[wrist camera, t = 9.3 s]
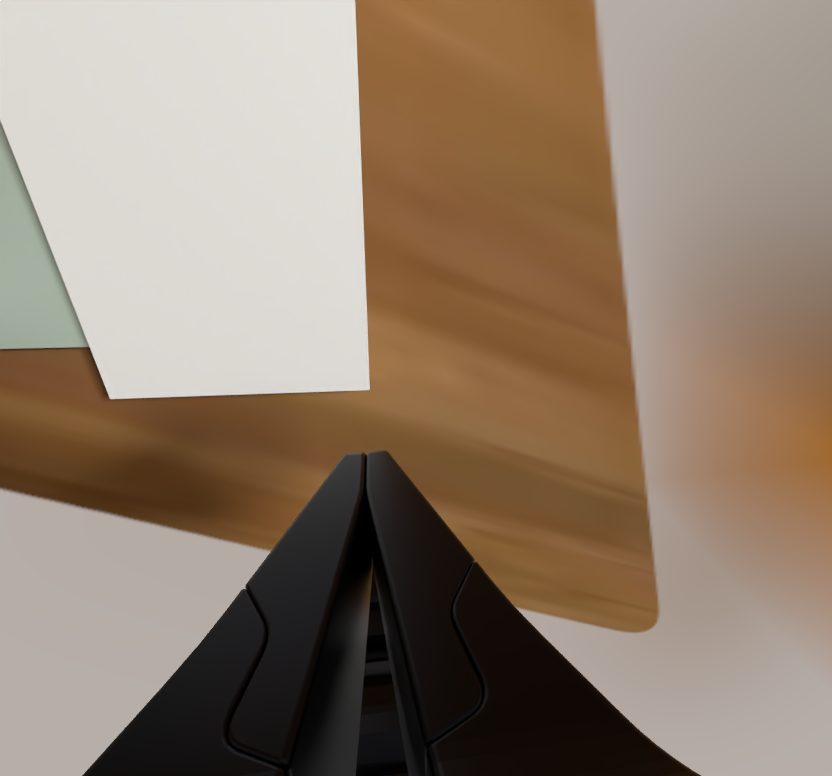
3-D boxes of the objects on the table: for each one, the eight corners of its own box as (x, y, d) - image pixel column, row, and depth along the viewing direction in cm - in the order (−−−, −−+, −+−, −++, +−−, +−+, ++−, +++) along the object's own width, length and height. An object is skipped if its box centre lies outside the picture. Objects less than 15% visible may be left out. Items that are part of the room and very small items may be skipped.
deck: (369, 375, 19) (369, 389, 18) (128, 382, 18) (110, 399, 17) (347, -209, 11) (344, -261, 10) (-107, -269, 10) (-181, -339, 8)
